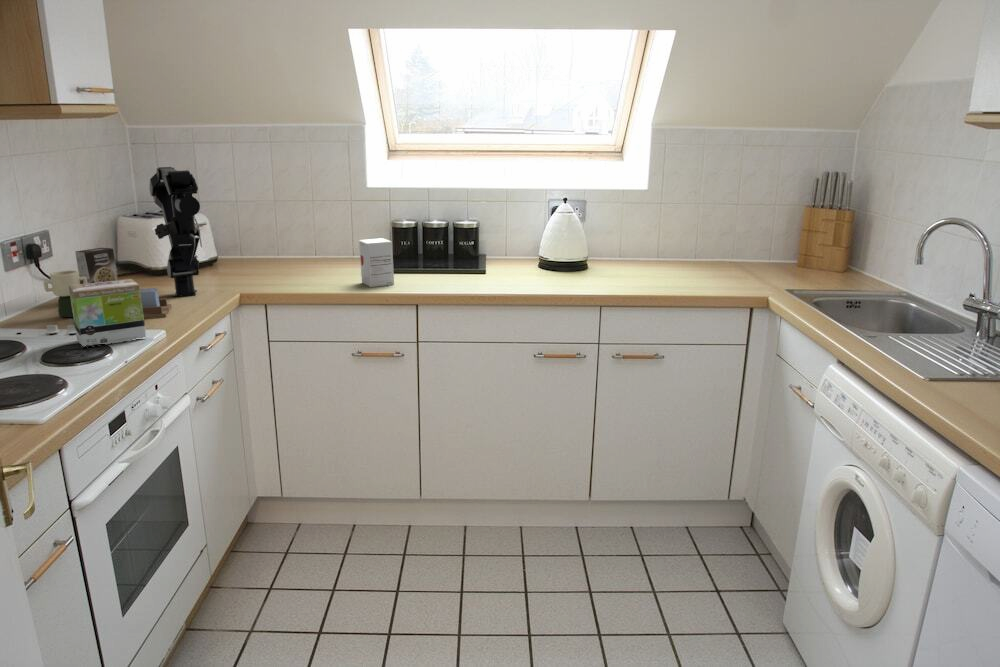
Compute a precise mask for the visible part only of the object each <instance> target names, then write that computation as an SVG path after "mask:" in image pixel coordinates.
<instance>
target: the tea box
mask: <svg viewBox="0 0 1000 667" xmlns="http://www.w3.org/2000/svg"><path fill="white" fill-rule="evenodd" d="M140 289H141V287H140V284H138V283H137V282H136V281H135V280H133V279H132V278H127V279H118V280H117V281H107V282H98V283H89V284H79V285H70V286H69V292H70V299H71V305H72V312H73V316H72V317H73V323H74V324H73V325H74V329H75V336H76V340H77V341H78V343H79V345H80V344H81V345H82V346H86V345H93V344H105V345H109V344H110V345H111V343H112V344H117V343H118V344H119V343H124V342H123V341H127V340H133V339H136V338H143V337H146V338H147V331H146V323H145V319H144V315H143V309H142V301H141V293H140ZM127 342H128V341H127ZM81 345H80V346H81ZM82 346H81V347H82Z"/></svg>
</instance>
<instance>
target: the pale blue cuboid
mask: <svg viewBox="0 0 1000 667" xmlns="http://www.w3.org/2000/svg"><path fill="white" fill-rule="evenodd" d="M140 293H141V301H142V307H155V306H160V303H159V299H160V298H159V297H160V296H159V291H158V287H151V288H140Z"/></svg>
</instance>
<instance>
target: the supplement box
mask: <svg viewBox="0 0 1000 667" xmlns="http://www.w3.org/2000/svg"><path fill="white" fill-rule="evenodd" d="M358 241H359V243H358V244H359V246H358V247H359V258H360V259H359V262H360V276H361V283H363V285H366V286H367V287H369V288H375V287H383V286H389V285H390V286H391V285H395V276H394V275H395V274H394V272H395V271H394V258H393V257H394V256H393V255H394V254H393V241H392V240H390V239H389V240H388V239H385V237H379V238H369V239H368V238H367V239H366V238H365V239H359V240H358Z"/></svg>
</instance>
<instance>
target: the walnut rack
mask: <svg viewBox="0 0 1000 667" xmlns="http://www.w3.org/2000/svg"><path fill="white" fill-rule="evenodd" d="M167 299H168V298H159V303H160V306H155V307H142V309H143V315H144V320H145V319H158V318H166V317H167V316H168V314H169V312H170V311H171V309H172V304H168V300H167Z"/></svg>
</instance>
